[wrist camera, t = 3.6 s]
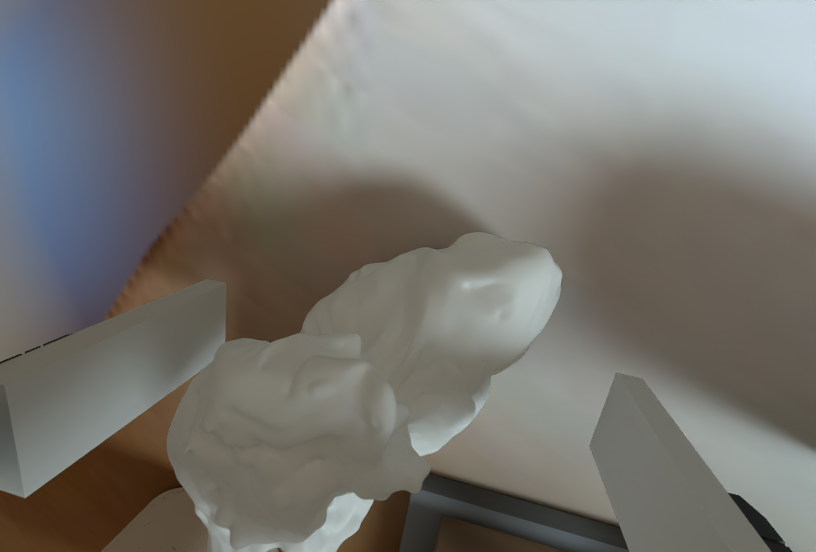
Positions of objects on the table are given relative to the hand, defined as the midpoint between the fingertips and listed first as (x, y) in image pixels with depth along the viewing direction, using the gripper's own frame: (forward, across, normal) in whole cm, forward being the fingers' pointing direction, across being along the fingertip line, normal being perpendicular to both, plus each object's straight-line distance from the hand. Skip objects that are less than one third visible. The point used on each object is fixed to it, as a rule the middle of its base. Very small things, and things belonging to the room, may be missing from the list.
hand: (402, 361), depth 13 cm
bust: (+3, 0, 0) cm, 3 cm away
